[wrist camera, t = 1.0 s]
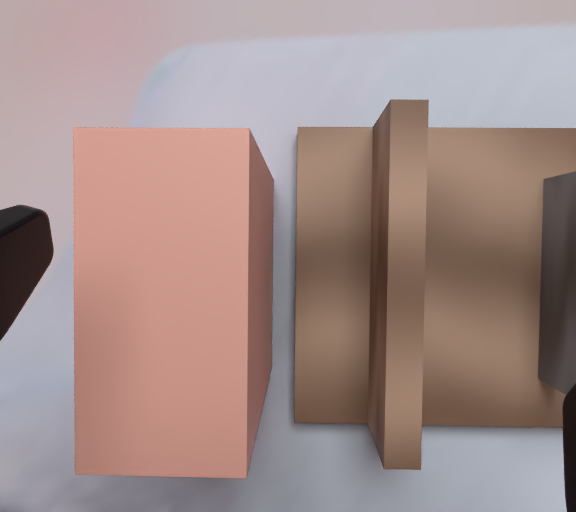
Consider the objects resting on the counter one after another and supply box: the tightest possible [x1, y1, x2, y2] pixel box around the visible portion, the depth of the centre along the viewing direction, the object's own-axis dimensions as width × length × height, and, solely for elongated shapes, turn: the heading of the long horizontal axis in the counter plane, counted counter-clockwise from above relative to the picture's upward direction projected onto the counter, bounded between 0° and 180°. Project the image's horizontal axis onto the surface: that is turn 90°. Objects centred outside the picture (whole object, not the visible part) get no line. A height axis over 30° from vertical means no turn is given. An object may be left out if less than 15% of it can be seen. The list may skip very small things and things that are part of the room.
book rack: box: [294, 100, 576, 470], centre depth 19 cm, size 12×15×5 cm
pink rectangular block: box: [73, 127, 274, 478], centre depth 16 cm, size 8×4×10 cm, turn 179°
